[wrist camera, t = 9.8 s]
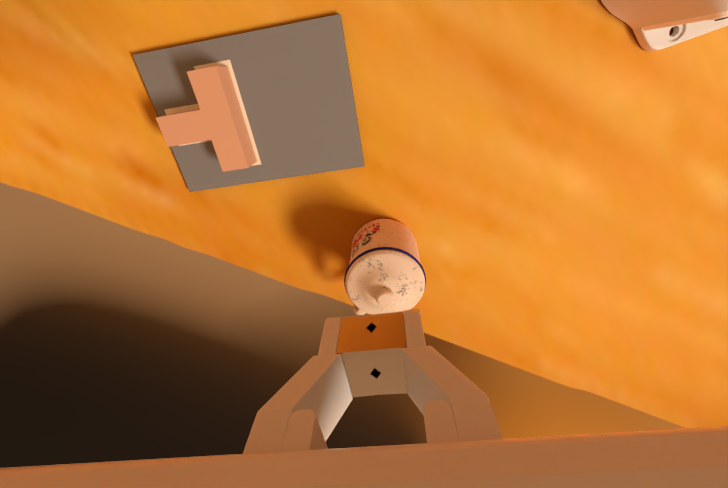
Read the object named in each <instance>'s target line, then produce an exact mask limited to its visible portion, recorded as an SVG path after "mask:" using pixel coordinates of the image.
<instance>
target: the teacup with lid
mask: <svg viewBox="0 0 728 488" xmlns="http://www.w3.org/2000/svg"><path fill="white" fill-rule="evenodd" d="M344 283H345V289H346V292H347V294H348V296H349V298H350V300H351V301H352V302H353V303H354V313H355V314H357V315H364V314H365V313H368V314H380V313H390V312H399V311H404V310H410V309H411V308H412V307H414V306H415V305H416V304H417V303H418V301H419V300H420V299H421V297H422V295H423V293H424V290H425V286H426V276H425V272H424V269H423V267H422V265H421V263H420V259H419V254H418V249H417V244H416V240H415V237H414V235H413V234H412V232H411V231H410V229H409V228H408V227H406V226H405V225H404V224H402V223H400V222H398V221H395V220H392V219H377V220H373V221H370V222H368V223H366V224H365V225H363V226H362V227H361V228H360V229H359V230H358V231H357V233H356V234H355V236H354V238H353V241H352V247H351V253H350V260H349V266H348V268H347V270H346V273H345V279H344Z"/></svg>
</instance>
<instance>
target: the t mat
mask: <svg viewBox="0 0 728 488" xmlns="http://www.w3.org/2000/svg"><path fill="white" fill-rule="evenodd" d="M133 58H134V60H135V63H136V65H137V67H138V70H139V72H140V74H141V77H142V79H143V82H144V84H145V86H146V89H147V91H148V94H149V96H150V98H151V101H152V103H153V106H154V108H155V110H156V113H157V115H158V117H161V116H165V115H170V114H175V113H180V112H186V111H192V110H197V109H200V107H199V104H198V102H197V99H196V96H195V93H194V91H193V88H192V85H191V82H190V80H189V77H188V74H187V71H192V70H198V69H203V68H208V67H213V66H228V68H229V71H230V74H231V77H232V81H233V84H234V87H235V90H236V94H237V97H238V100H239V103H240V107H241V110H242V113H243V116H244V120H245V123H246V126H247V129H248V133H249V136H250V139H251V142H252V146H253V149H254V152H255V155H256V159H257V162H255V163H254V164H253V165H252V166H250V167H249V168H245V169H238V170H232V171H225V172H223V171H222V168H221V165H220V163H219V160H218V157H217V154H216V152H215V149H214V146H213V143H212V140H206V141H200V142H194V143H188V144H182V145H176V146H171V149H172V151H173V153H174V156H175V158H176V161H177V163H178V165H179V168H180V170H181V172H182V175H183V177H184V180H185V182H186V184H187V187H188V189H189V192H193V191H199V190H206V189H213V188H220V187H227V186H233V185H240V184H247V183H254V182H261V181H267V180H274V179H281V178H288V177H295V176H301V175H308V174H315V173H322V172H329V171H335V170H342V169H349V168H356V167H362V166H364V159H363V153H362V146H361V140H360V134H359V128H358V121H357V115H356V109H355V102H354V96H353V90H352V83H351V77H350V71H349V64H348V58H347V52H346V45H345V39H344V33H343V26H342V20H341V15H340V14H337V15H332V16H327V17H322V18H317V19H312V20H307V21H302V22H297V23H291V24H286V25H281V26H276V27H271V28H266V29H261V30H256V31H251V32H246V33H241V34H236V35H231V36H226V37H221V38H216V39H211V40H206V41H201V42H196V43H191V44H186V45H181V46H176V47H171V48H165V49H160V50H155V51H150V52H145V53H140V54H135V55H133Z"/></svg>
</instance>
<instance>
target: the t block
mask: <svg viewBox="0 0 728 488" xmlns="http://www.w3.org/2000/svg"><path fill="white" fill-rule="evenodd" d="M187 74H188V77H189V80H190V82H191V85H192V88H193V91H194V93H195V96H196V99H197V102H198V104H199V107H200V109H197V110H192V111H186V112H180V113H175V114H170V115H165V116H161V117H156V120H157V123H158V125H159V127H160V130H161V132H162V135H163V137H164V139H165V142H166V144H167V146H168V147H170V146H176V145H182V144H188V143H194V142H200V141H206V140H212V143H213V146H214V149H215V152H216V154H217V157H218V160H219V163H220V165H221V168H222V171H223V172H225V171H232V170H238V169H245V168H249V167H250V166H252V165H253V164H254V163H255V162H257V159H256V155H255V152H254V149H253V146H252V142H251V139H250V136H249V133H248V129H247V126H246V123H245V120H244V116H243V113H242V110H241V107H240V103H239V100H238V97H237V94H236V90H235V87H234V84H233V81H232V77H231V74H230V71H229V68H228V66H213V67H208V68H203V69H198V70H192V71H187Z"/></svg>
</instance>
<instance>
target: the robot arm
mask: <svg viewBox="0 0 728 488" xmlns="http://www.w3.org/2000/svg"><path fill="white" fill-rule="evenodd" d="M601 2H602V3H603V5H604V6H605V7H606V8H607V10H608V11H609V12H610V13H612V14H613V15H614V16H615V17H617V18H618V19H620V20H622V21H623V22H625V23H626V24H628V25H629V26H630V27H631V28H632V29H633V32H634V34H635V36H636V38H637V40H638V42H639V44H640V46H641V47H642V48H643V49H644V50H645V51H649V52H650V51H656V50H661V49H664V48H667V47H669V46H672V45H675V44H678V43H680V42H683V41H686V40H689V39H692V38H694V37H697V36H700V35H703V34H705V33H708V32H711V31H714V30H716V29H719V28H722V27H725V26H728V0H601ZM672 27H673V33H672V35H671V36H670V35H669V31H670V29H671V28H672ZM403 315H404V316H403ZM400 393H408V395H409V396H410V398H411V399H412V400H413V402H414V403H415V404H416V405H417V407H418V408H419V410H420V411H421V412H422V414H423V415H424V419H425V428H426V436H427V443H425V444H408V445H392V446H373V447H356V448H338V449H328V448H327V446H326V443H325V441H326V440H327V438H328V437H329V435H330V434H331V432H332V430H333V429H334V427H335V426H336V424H337V423H338V421H339V420H340V418H341V416H342V415H343V413H344V412H345V410H346V408H347V407H348V405H349V404H350V402H351V401H352V397H359V396H369V395H379V394H400ZM0 488H728V426H719V427H702V428H685V429H669V430H668V429H667V430H650V431H634V432H615V433H598V434H580V435H564V436H546V437H529V438H511V439H502V436H501V433H500V431H499V427H498V424H497V421H496V419H495V415H494V412H493V409H492V406H491V403H490V400H489V398H488V395H486V394H485V393H484V392H483V391H482V390H481V389H480V388H479V387H477V386H476V385H475V384H474V383H473V382H472V381H471V380H469V379H468V378H467V377H466V376H465V375H463V374H462V373H461V372H460V371H459V370H458V369H457V368H456V367H454V366H453V365H452V364H451V363H450V362H449V361H448V360H446V359H445V358H444V357H443V356H442V355H441V354H440V353H438V352H437V351H436V350H435V349H434V348H433V347H432V346H426V344H425V338H424V332H423V326H422V321H421V315H420V310H419V309H412V310H404V311H399V312H390V313H380V314H369V315H357V316H344V317H335V318H327V319H326V321H325V324H324V329H323V334H322V339H321V343H320V348H319V353H318V356H313V357H312V358H311V359H310V360H309V361H308V362H307V363H306V364H305V365H304V366H303V367H302V368H301V369H300V370H299V371H298V372H297V373H296V374H295V375H294V376H293V377H292V378H291V379H290V380H289V381H288V382H287V383H286V384H285V385H284V386H283V387H282V388H281V389H280V390H279V391H278V392H277V393H276V394H275V395H274V396H273V397H272V398H271V399H270V400H269V401H268V402H267V403H266V404H265V405H264V406H263V407H262V408H261V409H260V410H259V411H258V412H257V415H256V418H255V421H254V424H253V426H252V429H251V432H250V435H249V438H248V440H247V443H246V446H245V449H244V452H243V454H235V455H218V456H202V457H201V456H200V457H186V458H185V457H183V458H166V459H150V460H132V461H114V462H97V463H81V464H63V465H46V466H29V467H14V468H13V467H12V468H0Z"/></svg>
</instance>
